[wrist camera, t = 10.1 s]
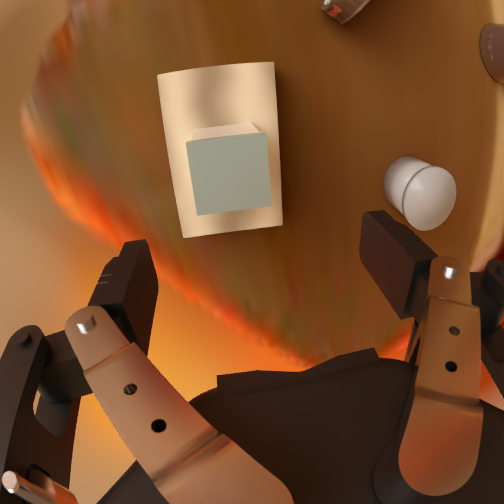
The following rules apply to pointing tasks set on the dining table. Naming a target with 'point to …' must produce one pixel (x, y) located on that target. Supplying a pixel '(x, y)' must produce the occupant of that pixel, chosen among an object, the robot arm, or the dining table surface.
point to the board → (212, 115)
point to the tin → (343, 8)
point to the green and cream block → (229, 168)
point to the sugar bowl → (420, 192)
